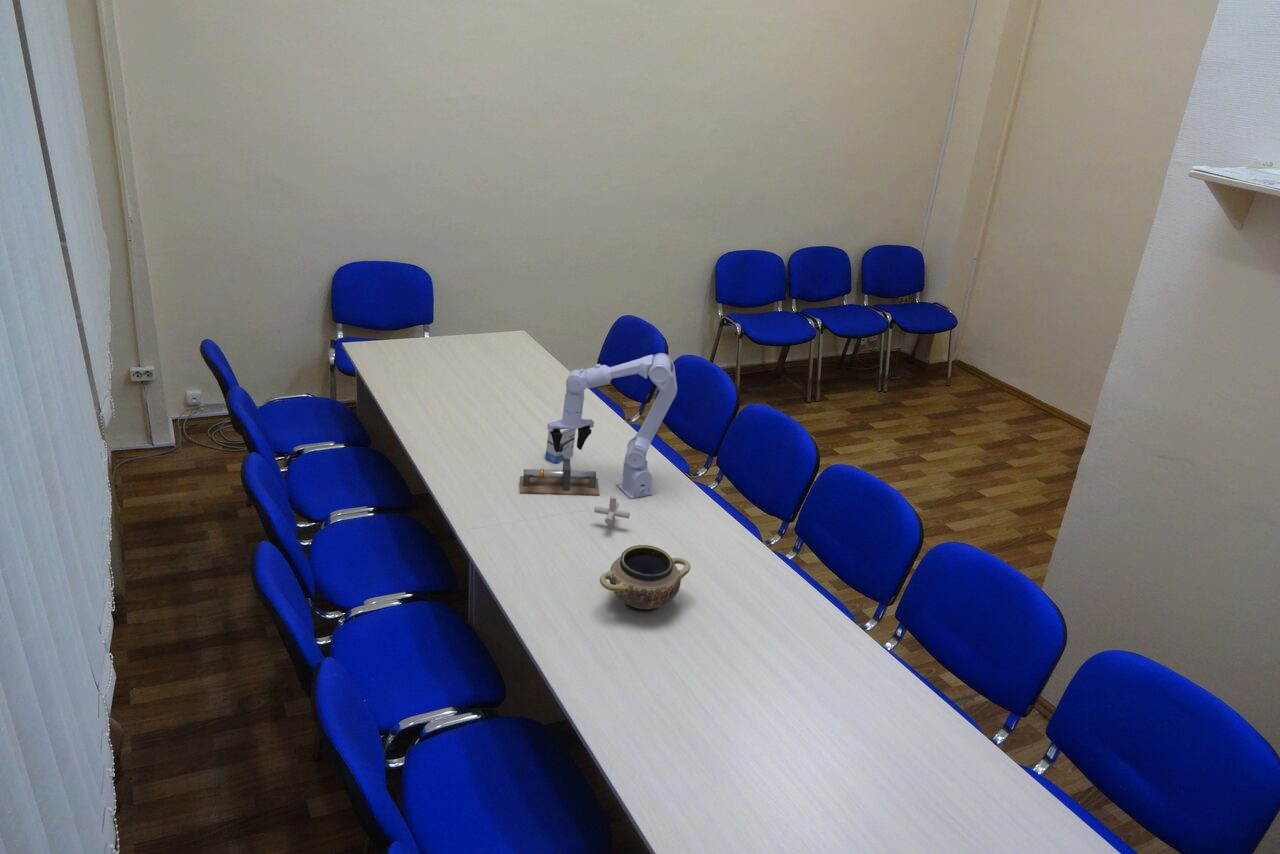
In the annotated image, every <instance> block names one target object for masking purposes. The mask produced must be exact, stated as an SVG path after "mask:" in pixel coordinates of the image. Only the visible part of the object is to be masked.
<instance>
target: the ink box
mask: <svg viewBox="0 0 1280 854" xmlns="http://www.w3.org/2000/svg"><path fill="white" fill-rule="evenodd" d="M560 431H561V434H562V435H563V436H562V438H561V441H560V448H559V452H556V451H555V450H554V444H553V439H552V435H551V433H550V431H549V430H548V431H547V432H548V433H547V438H546V439H547V442H546V448H545V449H546V450H545V456H544V458H545V460H548V461H549V462H551V463H553V464H555V465H556V464H558V463H561V462H563V459H570V458H571V457H573V455H574V447H575V438H576V431H577V429H560Z"/></svg>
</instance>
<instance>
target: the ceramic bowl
mask: <svg viewBox="0 0 1280 854" xmlns="http://www.w3.org/2000/svg"><path fill="white" fill-rule="evenodd" d="M677 564H678V565H679V564H680V565H682V566H684V567H683V568H682V569H678V567H677V566H676V565H677ZM690 570H691V563H690V562H689V561H688V560H687V559H684V558H682V557H671V556H670V555H669V554H668V552H666V551H664V550H663V549H662V548H659V547H657V546H653V545H648V544H647V545H646V544H644V545H643V544H638V545H632V546H630V547H628V548H626V549H625V550H624V551H623V552H622V553H621V555H620V556H619V557H618V558H617V559H615V560H614V562H613V563H612V564H611V566H610V568H609V570H608V571H607V572H606V571H605V572H604V573H602V574H601V576H600V577H599V584H600V585H601V587H603V588H604V589H605V590H608V591H611V592H613V593H614V595H615V596H616V597H617V598H618V599H619V600H620V601H621V602H623V604H624V605H625V607H626V608H627V609H629V610H631V611H633V612H635V613H636V612H637V613H639V614H649V613H654V612H655V611H657V610H659V608H660V607H663V606H665V605H667V604H668V603H669V602H671V601H672V600H673V599H674V598H675V597H676V595H677V594H678V593H679V591H680V588H681V583H682V579H684V577H685V576H686V575H687V574H688V573H689V572H690ZM607 580H608V581H609V582H608V581H607Z"/></svg>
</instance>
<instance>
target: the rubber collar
mask: <svg viewBox="0 0 1280 854" xmlns="http://www.w3.org/2000/svg"><path fill="white" fill-rule="evenodd" d="M562 462H563V463H562V470H564V474H563V478H562V482H563V490H570V474H571V471H572V468H571V467H572V466H571V458H567V459H563V461H562Z"/></svg>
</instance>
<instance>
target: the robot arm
mask: <svg viewBox="0 0 1280 854" xmlns="http://www.w3.org/2000/svg"><path fill="white" fill-rule="evenodd" d="M675 368H676V367H675V364H674V362H673V360H672V358H671V357H670V356H669V355H668V354H667V353H663V352H659V353H656V354H649V355H646V356H642V357H641V358H637V359H633V360H630V361H628V362H623V363H621V364H617V365H613V366H608V365H606V364H601V363H598V364H597V363H596V364H595V366H593V367H589V368H580V369H573V370H571V371H570V372H569V374H568V376H567V379H566V381H565V395H564V401H563V410H562V418H561V419H560V420H559V419H558V420H555V421H552V422H547V428H546V429H547V430H548V432H549V431H550V433H551V435H552V439H553V444H554V450H555V451H556V452H559V448H560V441H561V438H562V436H563V435H562V434H561V431H560V429H576V430H577V440H576V448H577V449H578V450H579V451H582V450H583V446H584V444H585V442H586V441H587V439H588V437H590V435H591V434H592V429H593V428H594V426H595V421H594V420H593V419H591V418H590V419H589V418H588V419H587V418H583V417H582V415H583V409H584V401H585V390H586V389H592V388H596V387H601V386H605V385H608V384H610V382H611V381H612V379H617V378H621V377H627V376H634V375H639V376H641V377H643V379H648V377H649V379H650V380H651V382H652V383H653V384H654V385H655V386H656V387H657V389H658V391H659V392H658V393H657V396H656V398H655V400H654V402H653V404H652V405H651V407H650V410H649V411H648V413H647V415H646V416H645V419H644V420H643V422H642V424H641V426H640V429H639V430H638V432H637V433H636V434H635V436H634V437H632V438H631V439H630V440H629V441H628V443H627V446H626V447H627V449H626V453H625V456H624V460H623V470H622V479H621V480H622V481H621V482H618V483H616V486H617V488H619V489H620V490H621V492H623V493H624V494H625V495H626V497H628V499H636V498H637V499H638V498H642V497H647V496H653V492H652V489H651V488H652V479H653V477H652V474H651V472H650V471H649V468H648V460H647V453H648V452H649V449H650V445H651V443H652V441H653V439H654V437H655V436H656V434H657V432H658V430H659V428H660V426H661V424H662V422H663V420H664V418H665V417H666V415H667V412H668V411H669V409H670V407H671V406H672V403H673V401H674V400H675V398H676V396H677V392H678V383H677V376H676V369H675Z"/></svg>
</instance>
